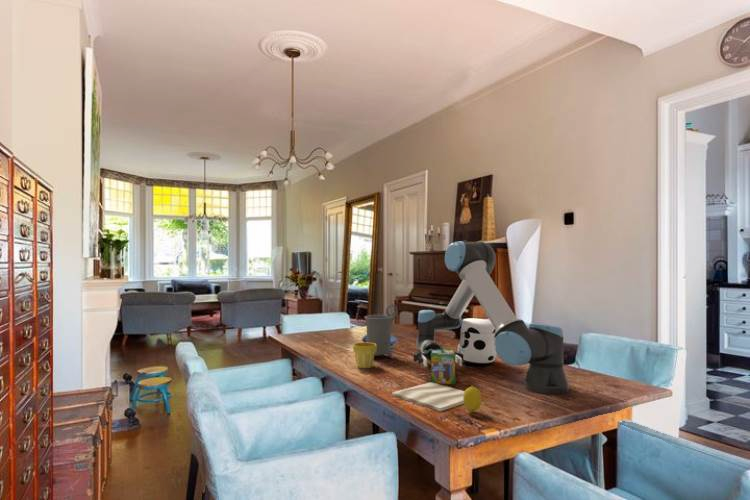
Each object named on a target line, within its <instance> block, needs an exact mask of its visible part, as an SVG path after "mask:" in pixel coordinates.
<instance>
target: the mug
mask: <svg viewBox="0 0 750 500" xmlns="http://www.w3.org/2000/svg"><path fill="white" fill-rule="evenodd" d="M391 307H393V308H394V311H395V312H394V311H392V313H391V314H389V308H391ZM385 313H386V314H369V315H365V316H364V320H365V322H366V342H369V343H375V344H376V345H377V350H376V353H375V355H374V356H378V355H379V356H381V355H382V356H383V355H386V356H389V358H391V359H392V360H394V356H393V353H392V352H391V346H392V345H391V342H392V341H391V338H392V337H391V333H392V332H391V330H392V329H391V328H392V324H393V322H394V320H395V318H396V317H397V314H398V307H397V305H396V304H389V305H387V307H386V308H385Z"/></svg>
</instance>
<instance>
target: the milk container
mask: <svg viewBox="0 0 750 500" xmlns="http://www.w3.org/2000/svg"><path fill="white" fill-rule="evenodd" d="M495 331H496V330H495V328H494V326H493V325H492V323H491V321H490V320H489V319H484V318H473V317H472V318H471V317H470V318H468V317H467V318H462V322H461V326H460V335H459V336H460V337H459V338H460V339H459V341H458V344H457V353H461V354H463V361H462V362H466V363H469V364H474V365H489V364H493V363H494V362H495V360H496V358H497V353H496V350H495V347H496V345H495V339H496V338H495V336H494V335H495Z"/></svg>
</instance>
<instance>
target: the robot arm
mask: <svg viewBox="0 0 750 500" xmlns="http://www.w3.org/2000/svg"><path fill="white" fill-rule="evenodd" d="M444 264H445V266H446V268H447V269H448V271H451V272H456V273H457V275H458V277H459V278H460V280H461V283H460V284H459V286H458V287H457V289H456V291H455V293H454V294H453V296H452V298H451V299H450V301H449V303H448V305H447V306H446V308H445V309H444V311H443V312H442V313H436V312H435V310H432V309H421V310H419V311H418V314H417V317H418V318H417V325H418V326H417V327H418V328H417V329H418V332H417V338H416V342H415V344H416V347H417V352H415V353H414V354H413V362H414V363H415V362H417V363H418V364H419V365H420V364H422V365H423V366H424V367H428V361H430V362H431V352H432V350H441V346H440V344H438V343H437V342H436V331H437V332H438V331H446V330H448V331H449V330H454V329H458V328H461V323H462V320H463V318H462V315H463V314H464V312H465V311H466V309H467V307H468V306H469V304H470V302H471V301H472V299H473V297H476V299H477V301H478V302H479V304H480V306H481V308H482V309H483V311H484V313H485V315H486V317H487V318H488V320H490V321H491V323H492V325H493V326H494V328H495V330H496V331H495V335H494V336H495V345H496V347H495V350H496V353H497V354H496V356H498V358H499V359H500V360H501V361H502V362H503V363H505V364H507V365H509V366H524V365H526V364H529V365H528V370H527V372H526V375H525V378H524V388H525V389H527V390H528V391H531V392H535V393H540V394H548V395H559V394H560V395H561V394H566V393H568V392H569V391H570V384H569V381H568V377H567V375H566V374H567V373H566V372H565V369H564V339H565V338H564V331H563V329H562V327H560V326H557V325H549V324H542V323H529V326H527V324H526V323H525V321H524V320H523V319H521V318H517V316H516V315H515V313H514V312H513V310H512V309H511V307H510V305H509V304H508V303H507V301H506V300H505V298H504V296H503V295H502V293H501V292H500V290H499V289H498V287H497V285H496V284H495V282H494V281H493V279H492V277H491V274H492V272H493V270H494V267H495V265H496V253H495V251H494V249H493V247H491V245H489V244H488V243H486V242H483V241H462V240H460V241H454V242H452V243H450V244H449V245H448V246H447V248H446V249H445V253H444ZM454 353H455V364H458V366H459V367H462V366H463V362H464V361H463V354H461V353H458V351H454Z"/></svg>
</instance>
